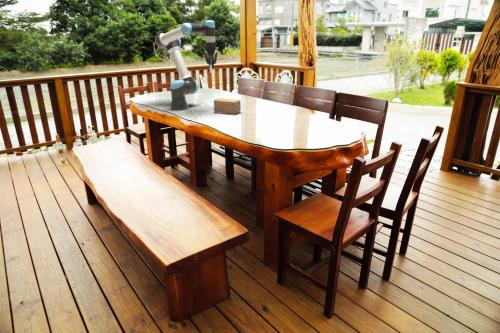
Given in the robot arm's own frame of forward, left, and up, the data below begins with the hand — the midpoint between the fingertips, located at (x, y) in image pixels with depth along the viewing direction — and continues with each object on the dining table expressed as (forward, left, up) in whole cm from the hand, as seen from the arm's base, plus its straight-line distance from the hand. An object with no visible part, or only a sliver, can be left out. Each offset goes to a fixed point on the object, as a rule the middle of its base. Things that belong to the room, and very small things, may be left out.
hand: (211, 72), depth 267 cm
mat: (+15, -5, -30) cm, 34 cm away
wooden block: (+6, -6, -25) cm, 26 cm away
